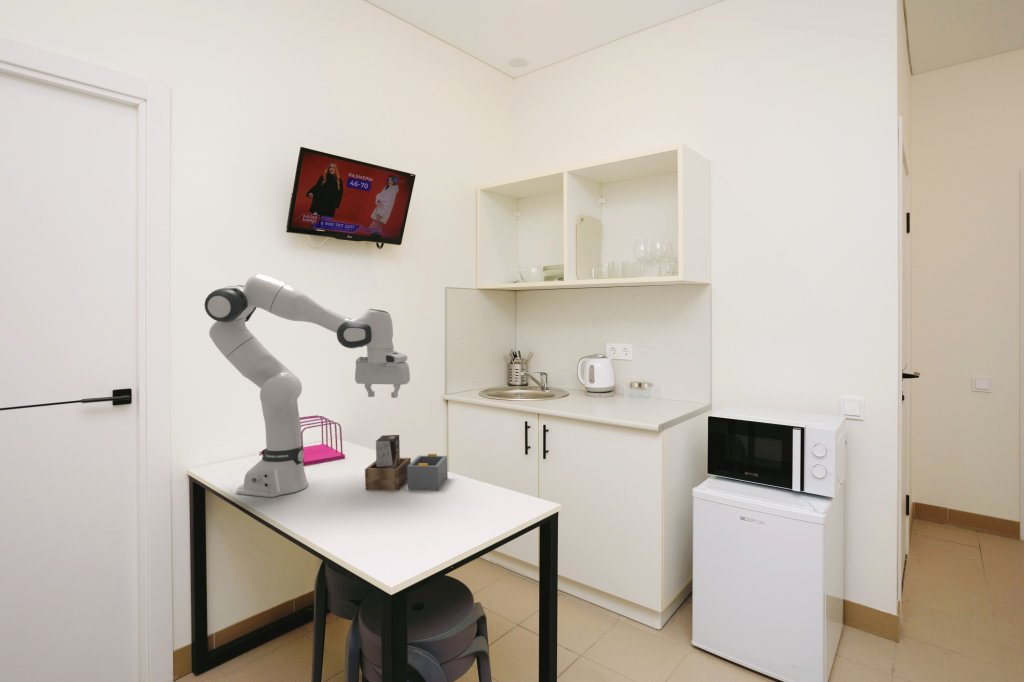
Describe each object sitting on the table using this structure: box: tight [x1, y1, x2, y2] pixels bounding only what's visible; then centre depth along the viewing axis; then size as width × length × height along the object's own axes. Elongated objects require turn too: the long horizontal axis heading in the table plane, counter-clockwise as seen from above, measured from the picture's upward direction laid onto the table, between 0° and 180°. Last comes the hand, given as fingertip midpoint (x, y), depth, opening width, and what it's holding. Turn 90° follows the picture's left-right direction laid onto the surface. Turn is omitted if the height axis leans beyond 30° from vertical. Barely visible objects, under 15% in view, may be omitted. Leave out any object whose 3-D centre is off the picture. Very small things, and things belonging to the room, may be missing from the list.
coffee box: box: [375, 434, 401, 469], centre depth 184 cm, size 9×6×16 cm
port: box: [407, 453, 449, 492], centre depth 183 cm, size 10×13×9 cm
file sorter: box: [299, 414, 346, 467], centre depth 222 cm, size 17×25×16 cm
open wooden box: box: [364, 457, 412, 491], centre depth 184 cm, size 11×14×7 cm
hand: (382, 397), depth 181 cm, fingers open, 8 cm apart
